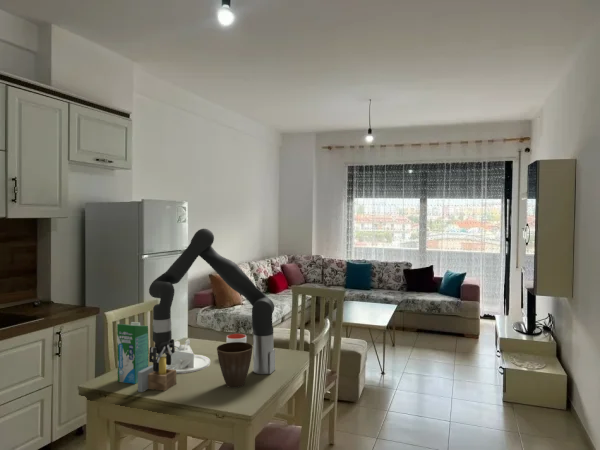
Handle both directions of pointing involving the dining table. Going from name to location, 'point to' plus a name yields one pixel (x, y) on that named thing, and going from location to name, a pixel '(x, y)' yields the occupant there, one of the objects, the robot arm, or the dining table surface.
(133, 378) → the milk carton
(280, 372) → the dining table surface
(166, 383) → the brown wooden open box
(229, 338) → the cup
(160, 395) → the dining table surface
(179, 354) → the dish
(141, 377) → the wall
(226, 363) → the plant pot
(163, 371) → the dowel
